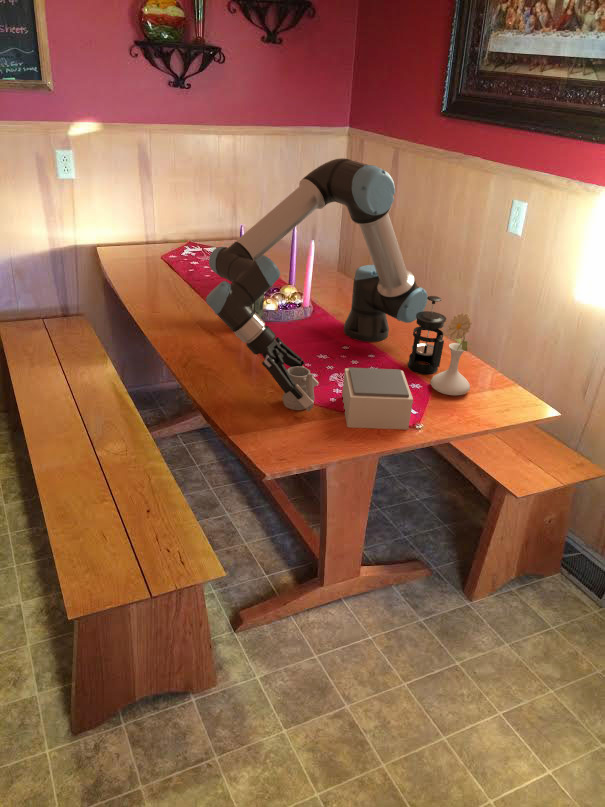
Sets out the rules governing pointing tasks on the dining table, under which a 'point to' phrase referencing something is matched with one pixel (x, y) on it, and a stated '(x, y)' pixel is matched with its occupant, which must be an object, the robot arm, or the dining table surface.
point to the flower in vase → (454, 359)
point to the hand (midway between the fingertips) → (312, 395)
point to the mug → (304, 381)
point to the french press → (424, 350)
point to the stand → (376, 398)
